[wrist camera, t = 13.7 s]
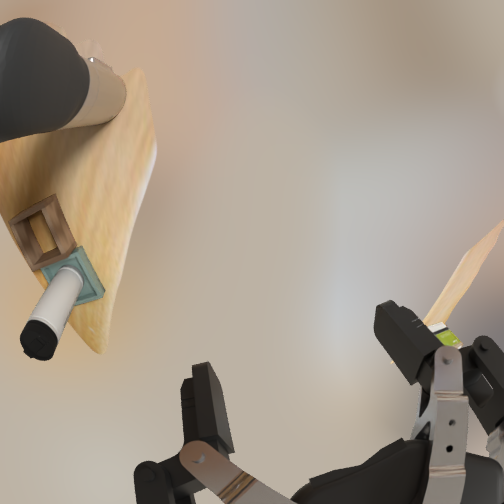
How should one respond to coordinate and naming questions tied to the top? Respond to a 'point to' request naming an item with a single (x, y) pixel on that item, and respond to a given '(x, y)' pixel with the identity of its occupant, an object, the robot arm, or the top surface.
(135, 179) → the top surface
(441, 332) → the tea box
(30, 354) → the travel mug
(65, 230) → the holder
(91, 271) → the tray
